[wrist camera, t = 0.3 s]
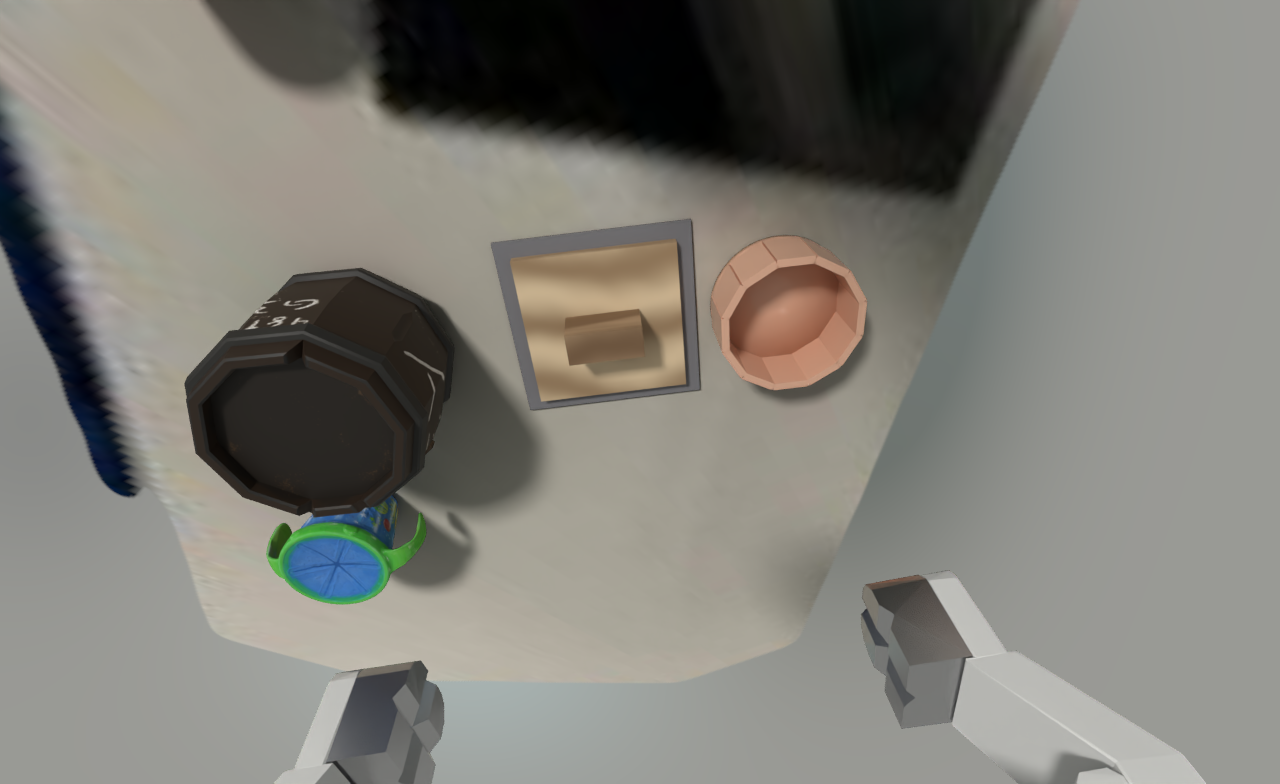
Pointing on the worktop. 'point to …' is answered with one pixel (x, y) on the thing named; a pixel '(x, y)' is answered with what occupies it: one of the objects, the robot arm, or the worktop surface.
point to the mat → (589, 241)
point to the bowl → (786, 312)
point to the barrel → (323, 394)
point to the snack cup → (342, 554)
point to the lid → (602, 318)
